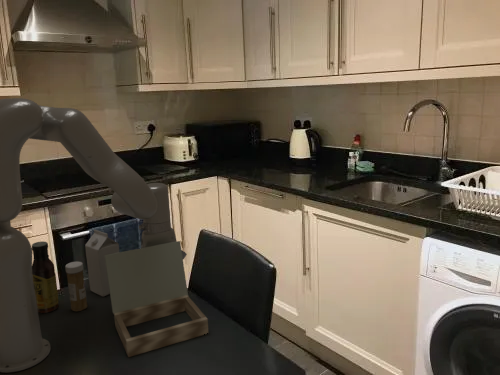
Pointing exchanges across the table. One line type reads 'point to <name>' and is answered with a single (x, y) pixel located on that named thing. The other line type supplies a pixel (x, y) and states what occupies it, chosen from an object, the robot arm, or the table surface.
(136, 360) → the table surface
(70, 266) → the sprinkles bottle
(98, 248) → the milk carton
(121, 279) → the panel
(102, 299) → the table surface
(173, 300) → the brown wooden tray
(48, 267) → the sauce bottle
